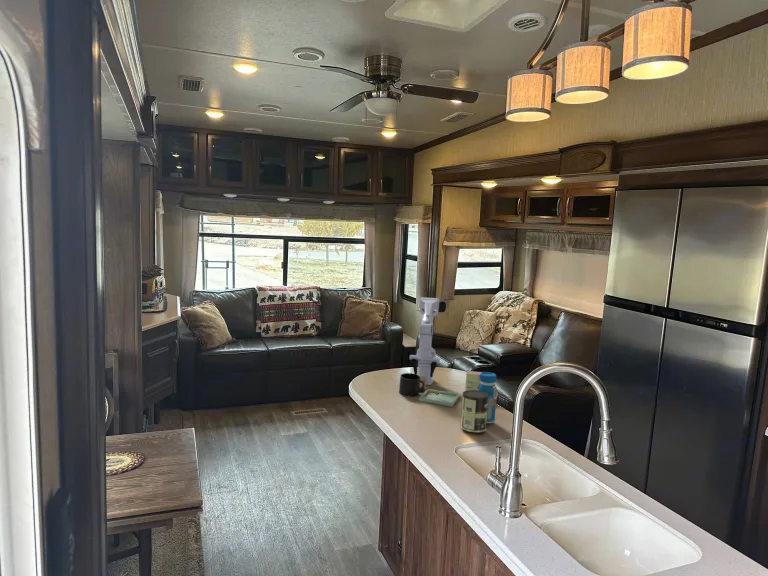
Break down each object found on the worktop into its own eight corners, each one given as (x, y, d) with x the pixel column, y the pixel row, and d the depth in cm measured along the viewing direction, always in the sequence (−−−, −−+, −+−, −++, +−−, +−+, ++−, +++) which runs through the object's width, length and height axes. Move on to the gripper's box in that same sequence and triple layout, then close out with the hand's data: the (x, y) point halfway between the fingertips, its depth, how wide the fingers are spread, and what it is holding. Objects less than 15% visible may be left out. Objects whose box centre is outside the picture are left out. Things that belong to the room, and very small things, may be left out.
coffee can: (486, 424, 212) (488, 391, 210) (486, 434, 201) (488, 399, 200) (461, 421, 214) (463, 388, 212) (459, 430, 203) (462, 396, 202)
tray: (427, 392, 252) (427, 388, 252) (459, 397, 247) (459, 393, 246) (418, 401, 237) (418, 398, 237) (452, 407, 232) (452, 403, 231)
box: (486, 395, 251) (487, 372, 250) (487, 399, 246) (489, 375, 244) (464, 394, 252) (466, 370, 251) (465, 397, 247) (467, 373, 245)
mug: (425, 398, 243) (427, 380, 242) (401, 398, 241) (402, 379, 239) (421, 390, 252) (422, 373, 251) (397, 390, 250) (398, 372, 249)
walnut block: (415, 391, 253) (416, 381, 257) (424, 392, 252) (425, 382, 256) (414, 386, 250) (415, 376, 254) (424, 386, 249) (424, 376, 253)
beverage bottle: (480, 424, 212) (483, 376, 210) (471, 417, 220) (474, 371, 218) (498, 423, 214) (502, 376, 212) (489, 416, 222) (492, 371, 220)
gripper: (408, 347, 245) (406, 375, 247) (437, 351, 240) (435, 379, 242) (412, 345, 252) (411, 372, 253) (441, 348, 247) (439, 376, 248)
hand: (423, 375), depth 248 cm, fingers open, 7 cm apart
